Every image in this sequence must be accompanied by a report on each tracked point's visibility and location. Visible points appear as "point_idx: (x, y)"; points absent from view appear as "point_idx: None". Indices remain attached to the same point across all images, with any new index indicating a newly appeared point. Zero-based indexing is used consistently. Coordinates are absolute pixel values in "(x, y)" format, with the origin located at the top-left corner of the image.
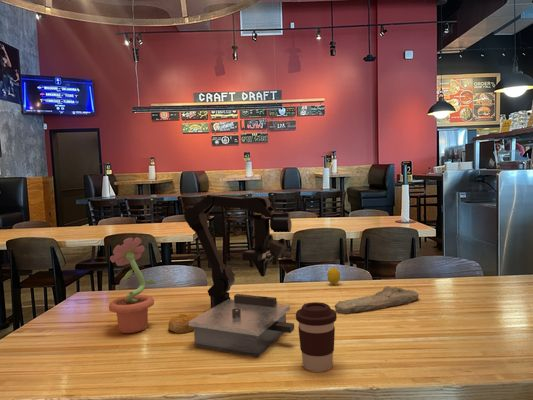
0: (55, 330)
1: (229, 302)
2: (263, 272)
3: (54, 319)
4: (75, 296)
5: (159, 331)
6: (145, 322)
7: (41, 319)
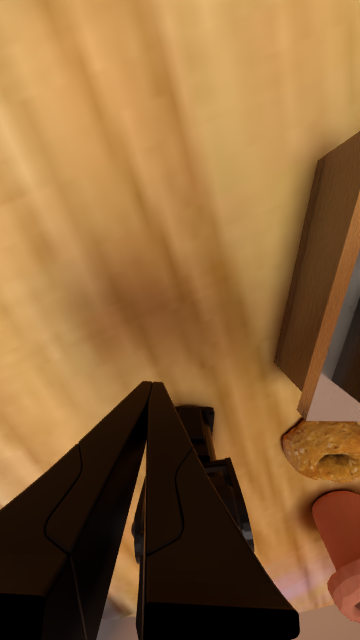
0: None
1: (349, 399)
2: (172, 406)
3: (298, 599)
4: None
5: None
6: (351, 506)
7: (300, 608)
